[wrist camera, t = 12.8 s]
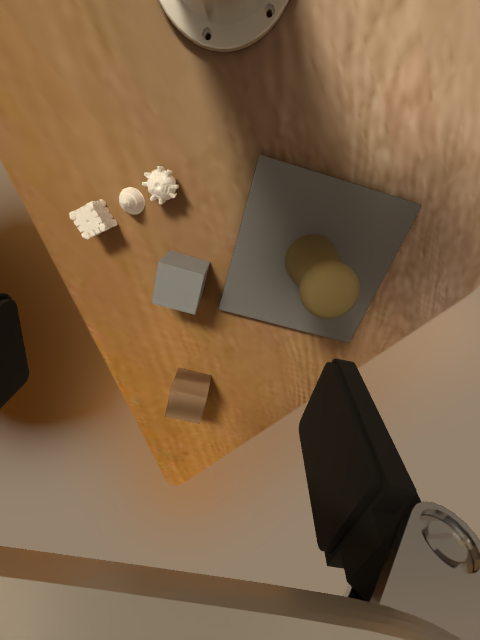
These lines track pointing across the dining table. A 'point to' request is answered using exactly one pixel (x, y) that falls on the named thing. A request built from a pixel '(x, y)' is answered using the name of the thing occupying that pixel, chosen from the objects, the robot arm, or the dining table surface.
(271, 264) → the mat
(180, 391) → the walnut block
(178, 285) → the slate-grey block
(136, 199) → the game pieces
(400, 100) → the dining table surface
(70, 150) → the dining table surface
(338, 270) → the olive lobed rounded piece
